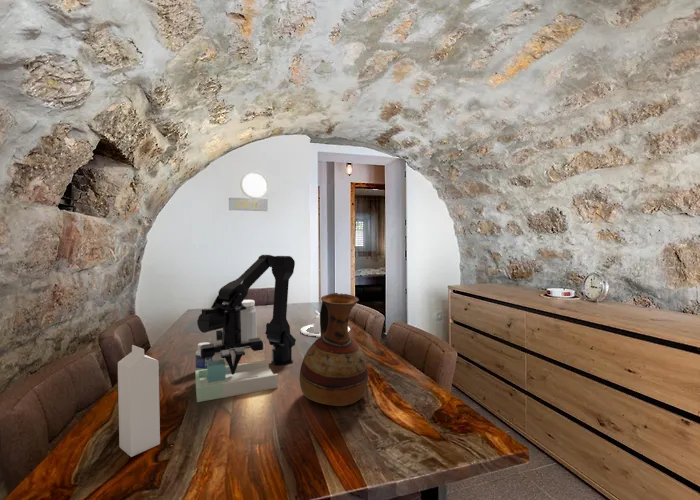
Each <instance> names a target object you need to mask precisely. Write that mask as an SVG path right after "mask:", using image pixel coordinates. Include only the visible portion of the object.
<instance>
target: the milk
mask: <svg viewBox="0 0 700 500" xmlns="http://www.w3.org/2000/svg"><path fill="white" fill-rule="evenodd" d="M159 371H160V369H159V360H158V359H155V358H153V357H150V356H149V355H147V354H145V349H144V348H142V347H140V346H136V345H134V344H132V345H131V351H130V352H129V353H128V354H126V355H125V357H123V358H122V359H120V360H119V361H118V362H117V391H118V392H117V393H118V396H117V397H118V398H117V399H118V434H119V435H118V436H119V438H118V439H119V440H118V443H119V448H120V449H121V450H122V451H123V452H124V453H125V454H127V456H130V458H132V457H134V456H137V455H139V454H141V453H143V452H145V451H148V450H150V449H152V448H155V447H156V446H159V445H161V433H160V432H161V430H160V429H161V428H160V427H161V425H160V424H161V423H160V422H161V420H160V416H161V415H160V374H159V373H160V372H159Z"/></svg>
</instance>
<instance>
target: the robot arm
mask: <svg viewBox="0 0 700 500" xmlns="http://www.w3.org/2000/svg"><path fill="white" fill-rule="evenodd" d="M295 264H296V262H295V259H294V258H293V257H292V256H291V255H272V254H260V255H259V257H258V258H257V260H255V261H254V262H253V264H251V266H249V267H248V268H247V269H246V270H245V271H244V272H243V273H242V274H241V275H239V277H238V278H236V279H235V280H232V281H230V282H228V283H226V284H225V285H223V286H221V288H220V289H219V290H218V294H217V296H216V297H215V300H214V302H213V303H212V305H211V308H203V309H201V313H200V314H199V316H198V319H197V322H196V323H197V327H198V330H199V331H200V332H201V333H202V334H203V333H204V334H206V333H208V332H213V331H215V340H216V341H217V342H218V341H221V345H217V346H216V345H215V344H214V343H210V344H205V345H202V346H201V347H200V354H201V358H209V357H212V358H213V357H214V356H215V355H216V353H219V355H220V358H221V359H224V360H225V361H226V363H227V364H228V365H227V366H229V367H230V370H231V373H232V375H233V374H234V373H235V371H236V368H237V365H238V364H240V360H241V359H242V358H243V357H242V356H245V355H246V352H245V350H246V349H250V350H252V351H253V352H257V351H263V350H264V342H263V341H262V339H261V338H260V337H256V338H252V339H248V342H245V343H242V341H241V310H245V309H246V307H245V306H244V305H243V304H242V302H243V300H246V297H247V296H248V292H249V289H251V287H252V285H254V284H255V283H256V281H258V279H260V277H261V276H262V275H263V274H265V273H266V271H267V270H268V269H270V268H271V273H272V276H273V277H274V292H273V293H274V294H273V305H272V306H273V309H272V319H271V320H270V321H269V322H267V323H266V325H265V328H266V329H265V333H264V335H266V339H267V340H268V343H269V345H270V346H273V347H272V349H271V361H272V363H274V365H276V366H279V365H286V364H293V363H294V361H293V360H292V359H293V358H292V357H293V356H292V355H293V354H292V351H293V350H292V348H293V347H295V345H296V342H297V340H296V338H295V337H294V336H293V335H292V333H291V326H290V323H289V321H288V320H287V312H288V299H289V298H288V297H289V284H290V283H289V282H290V278H292V276H293V274H294V270H295ZM231 351H232V352H233V355H232V354H231ZM232 356H233V358H232Z"/></svg>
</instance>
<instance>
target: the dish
mask: <svg viewBox="0 0 700 500" xmlns="http://www.w3.org/2000/svg"><path fill="white" fill-rule="evenodd" d="M314 313H315V314H316V316H315V317H314V318H313V323H312V324H308V325H304V326H303V327H301V328H300V333H301V334H302V333H303V334H305V335H304V336H306V335H308V336H307V337H310V336H316V337H315V338H320V336H321V328H320V312H319V311H318V310H317V309H316V310H315V311H314ZM310 327H314V332H319V334H314V333H309V332H307V331H306V330H307V329H308V328H310ZM349 331H351V328H350V326H349V325H348V332H349ZM349 333H350V332H349ZM303 334H302V335H303Z"/></svg>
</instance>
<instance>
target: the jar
mask: <svg viewBox="0 0 700 500" xmlns="http://www.w3.org/2000/svg"><path fill="white" fill-rule="evenodd" d="M255 303H256V302H255V300H254V299H244V300H243V302H242V304H243V305H244V306H245V307H246V309H245V310H241V341H242V343H245V342H248V339H252V338H258V336H257V310H256V307H255Z"/></svg>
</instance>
